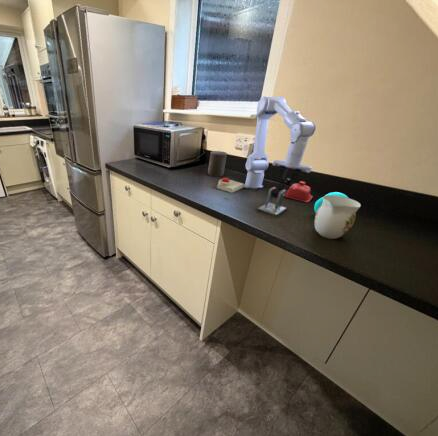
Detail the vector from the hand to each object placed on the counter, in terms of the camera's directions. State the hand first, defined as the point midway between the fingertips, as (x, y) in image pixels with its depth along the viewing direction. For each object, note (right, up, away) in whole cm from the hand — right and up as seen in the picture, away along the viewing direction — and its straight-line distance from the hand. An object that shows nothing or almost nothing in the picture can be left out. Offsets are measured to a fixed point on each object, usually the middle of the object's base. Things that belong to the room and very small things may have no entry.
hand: (285, 184), depth 102 cm
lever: (-3, -3, -1) cm, 4 cm away
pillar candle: (-18, +13, +45) cm, 50 cm away
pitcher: (+6, -20, -16) cm, 27 cm away
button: (-19, +5, +22) cm, 30 cm away
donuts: (+15, -14, -5) cm, 21 cm away
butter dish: (+13, -5, +13) cm, 19 cm away
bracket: (-6, -11, 0) cm, 13 cm away
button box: (-16, +2, +24) cm, 29 cm away
